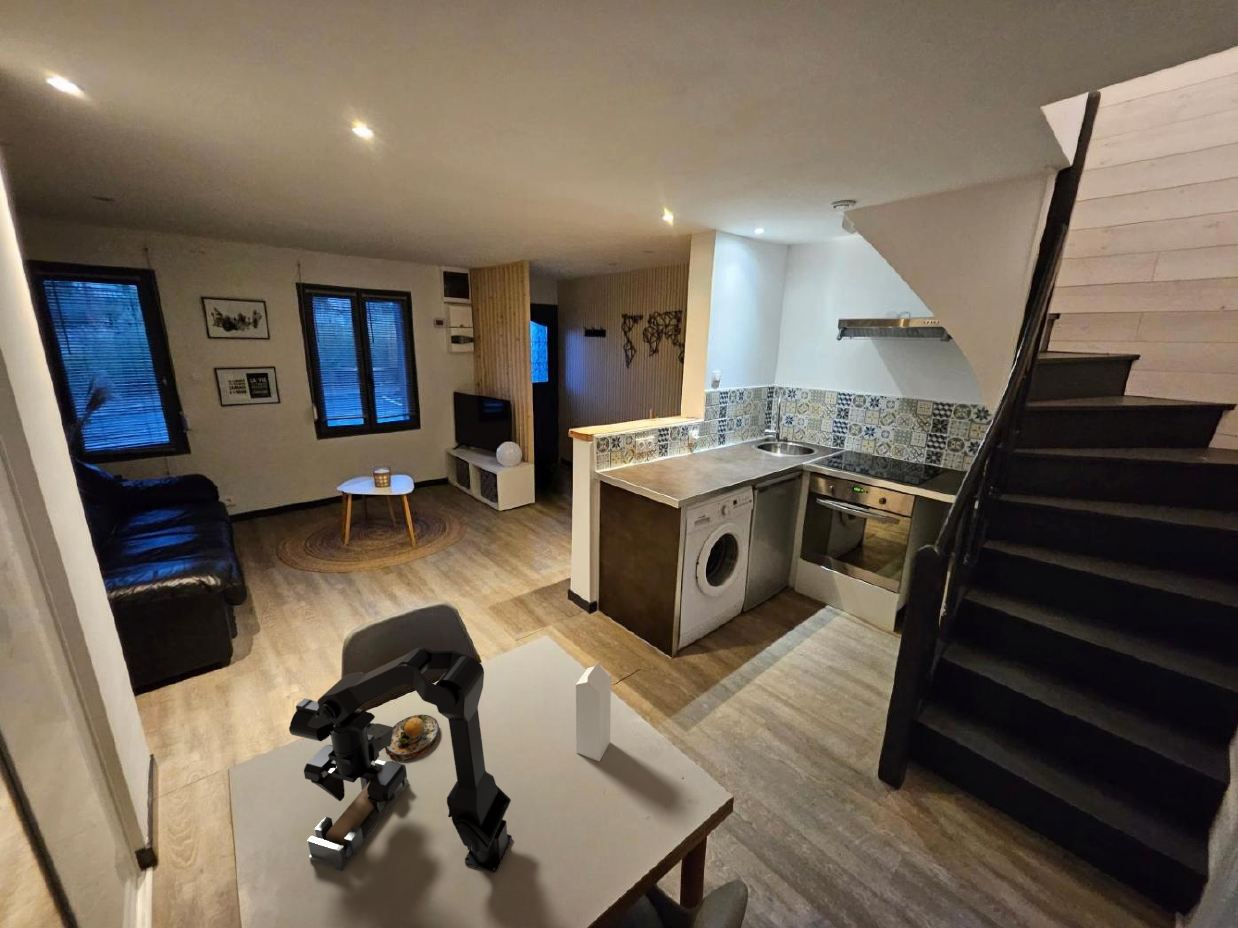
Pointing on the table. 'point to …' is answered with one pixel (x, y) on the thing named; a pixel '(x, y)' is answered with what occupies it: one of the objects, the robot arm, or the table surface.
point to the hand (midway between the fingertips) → (361, 804)
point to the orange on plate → (413, 737)
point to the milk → (593, 712)
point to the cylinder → (350, 818)
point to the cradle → (341, 855)
